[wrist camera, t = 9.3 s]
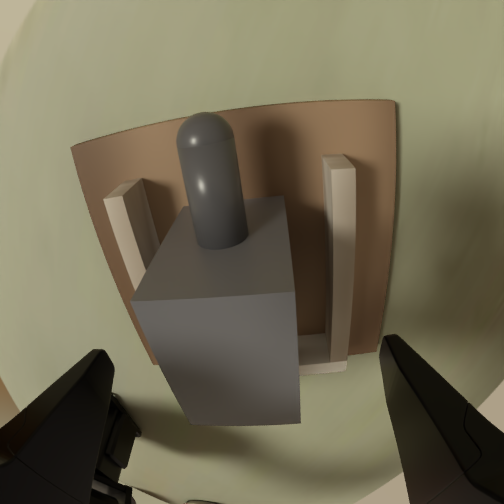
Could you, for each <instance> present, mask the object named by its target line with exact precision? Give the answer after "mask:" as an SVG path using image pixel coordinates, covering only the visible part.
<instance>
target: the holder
mask: <svg viewBox="0 0 504 504" xmlns="http://www.w3.org/2000/svg"><path fill="white" fill-rule="evenodd" d="M211 113H215V114H218V115H220V116H221V117H223V118H224V119H225V120H227V122H228V123H229V124H230V126H231V128H232V130H233V133H234V138H235V145H236V151H237V158H238V165H239V172H240V178H241V185H242V192H243V199H252V198H262V197H272V196H283V195H284V201H285V209H286V217H287V225H288V233H289V242H290V250H291V259H292V268H293V278H294V287H295V300H296V318H297V337H298V358H299V376H302V375H313V374H323V373H332V372H341V371H346V364H347V355H355V354H363V353H370V352H376V351H377V345H378V340H379V335H380V329H381V323H382V317H383V311H384V304H385V298H386V290H387V283H388V275H389V266H390V257H391V247H392V236H393V223H394V207H395V185H396V117H395V101H393V100H383V99H357V100H325V101H307V102H293V103H282V104H271V105H262V106H253V107H245V108H238V109H231V110H224V111H217V112H211ZM189 117H190V116H188V117H183V118H178V119H173V120H168V121H163V122H159V123H154V124H150V125H145V126H141V127H137V128H133V129H129V130H125V131H121V132H117V133H113V134H110V135H106V136H103V137H99V138H96V139H92V140H89V141H86V142H82V143H79V144H76V145H74V146H72V147H71V151H72V155H73V159H74V163H75V166H76V170H77V173H78V177H79V180H80V184H81V187H82V190H83V194H84V197H85V200H86V203H87V206H88V210H89V213H90V216H91V219H92V222H93V225H94V227H95V230H96V233H97V236H98V239H99V242H100V244H101V247H102V250H103V252H104V255H105V258H106V260H107V263H108V266H109V268H110V271H111V273H112V276H113V278H114V281H115V283H116V285H117V288H118V290H119V293H120V295H121V297H122V300H123V302H124V304H125V306H126V309H127V311H128V313H129V315H130V318H131V320H132V322H133V324H134V326H135V329H136V331H137V333H138V335H139V337H140V339H141V341H142V343H143V345H144V347H145V349H146V351H147V353H148V355H149V357H150V359H151V361H152V363H153V365H159V364H158V362H157V360H156V358H155V356H154V354H153V352H152V350H151V348H150V346H149V343H148V341H147V339H146V337H145V335H144V333H143V330H142V328H141V326H140V324H139V321H138V319H137V317H136V315H135V312H134V310H133V308H132V305H131V303H130V300H131V298H132V297H133V295H134V293H135V291H136V289H137V287H138V285H139V283H140V281H141V280H142V278H143V276H144V274H145V272H146V270H147V269H148V267H149V265H150V263H151V261H152V260H153V258H154V256H155V254H156V252H157V251H158V249H159V247H160V245H161V244H162V242H163V240H164V238H165V237H166V235H167V233H168V231H169V230H170V228H171V226H172V225H173V223H174V221H175V220H176V218H177V216H178V214H179V213H180V211H181V209H182V208H183V206H189V204H188V199H187V195H186V190H185V185H184V180H183V176H182V171H181V166H180V161H179V156H178V151H177V144H176V138H177V133H178V130H179V128H180V126H181V125H182V123H183V122H184V121H185V120H186V119H188V118H189Z"/></svg>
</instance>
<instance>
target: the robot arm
mask: <svg viewBox="0 0 504 504" xmlns="http://www.w3.org/2000/svg"><path fill="white" fill-rule="evenodd" d="M379 359H380V366H381V371H382V378H383V384H384V390H385V397H386V403H387V407H388V411H389V415H390V419H391V422H392V426H393V430H394V434H395V438H396V442H397V446H398V450H399V455H400V459H401V463H402V468H403V472H404V477H405V481H406V487H407V492H408V497H409V501H410V504H504V433H503V432H502V431H500V430H499V429H498V428H497V427H495V426H494V425H493V424H492V423H491V422H489V421H488V420H487V419H486V418H485V417H484V416H483V415H482V414H481V413H479V412H478V411H477V410H476V409H475V408H474V407H473V406H472V405H471V404H470V403H468V401H467V400H466V399H465V398H464V397H463V396H462V395H461V394H460V393H459V392H458V391H457V390H456V389H455V388H454V387H452V386H451V385H450V384H449V383H448V382H447V381H446V380H445V379H444V378H443V377H442V376H441V375H440V374H439V373H438V372H437V371H436V370H435V369H434V368H432V367H431V366H430V365H429V364H428V363H427V362H426V361H425V360H424V359H423V358H422V357H421V356H420V355H419V354H418V353H416V352H415V351H414V350H413V349H412V348H411V347H410V346H409V345H408V344H407V343H406V342H405V341H404V340H402V339H401V338H400V337H399V336H398V335H396V334H392V335H385V336H384V337H383V339H382V344H381V349H380V354H379ZM114 372H115V368H114V365H113V363H112V361H111V359H110V358H109V356H108V354H107V353H106V351H105V350H103V349H93V350H92V351H90V352H89V353H88V354H87V355H86V356H85V357H83V358H82V359H81V360H80V361H79V362H77V363H76V364H75V365H74V366H73V367H72V368H70V369H69V370H68V371H67V372H66V373H65V374H63V375H62V376H61V377H60V378H59V379H58V380H57V381H55V382H54V383H53V384H52V385H51V386H50V387H48V388H47V389H46V390H45V391H44V392H43V393H42V394H40V395H39V396H38V397H37V398H36V399H35V400H34V401H32V402H31V403H30V404H29V405H28V406H27V408H24V409H23V410H22V411H21V412H20V413H19V414H18V415H17V416H15V417H14V418H13V419H12V420H10V421H9V422H8V423H7V424H5V425H4V426H3V427H1V428H0V504H131V500H132V487H130V486H127V485H122V484H120V483H118V480H119V476H120V473H121V469H122V468H123V469H125V468H126V467H127V465H128V461H129V458H130V454H131V450H132V447H133V443H134V440H135V437H140V436H141V433H142V432H141V431H140V430H139V428H138V427H137V426H136V425H135V423H134V422H133V421H132V420H131V418H130V417H129V416H128V414H127V413H126V412H125V411H124V409H123V408H122V407H121V405H120V404H119V403H118V401H117V400H116V398H115V397H114V396H113V395H111V391H112V384H113V378H114Z"/></svg>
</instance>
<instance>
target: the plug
mask: <svg viewBox="0 0 504 504" xmlns="http://www.w3.org/2000/svg"><path fill="white" fill-rule="evenodd" d="M176 144H177V151H178V156H179V161H180V166H181V171H182V176H183V180H184V185H185V190H186V195H187V199H188V204H189V206H183V208H182V209H181V211H180V213H179V214H178V216H177V218H176V220H175V221H174V223H173V225H172V226H171V228H170V230H169V231H168V233H167V235H166V237H165V238H164V240H163V242H162V244H161V245H160V247H159V249H158V251H157V252H156V254H155V256H154V258H153V260H152V261H151V263H150V265H149V267H148V269H147V270H146V272H145V274H144V276H143V278H142V280H141V281H140V283H139V285H138V287H137V289H136V291H135V293H134V295H133V297H132V298H131V300H130V303H131V305H132V308H133V310H134V312H135V315H136V317H137V319H138V321H139V324H140V326H141V328H142V330H143V333H144V335H145V337H146V339H147V341H148V343H149V346H150V348H151V350H152V352H153V354H154V356H155V358H156V360H157V362H158V364H159V366H160V368H161V370H162V372H163V374H164V376H165V378H166V380H167V382H168V384H169V386H170V388H171V390H172V392H173V393H174V395H175V397H176V399H177V401H178V403H179V405H180V406H181V408H182V410H183V412H184V414H185V415H186V417H187V419H188V421H189V422H190V424H191V425H211V426H258V425H282V424H298V423H301V417H300V383H299V358H298V337H297V318H296V300H295V287H294V278H293V268H292V259H291V250H290V242H289V233H288V225H287V217H286V209H285V201H284V195H283V196H272V197H262V198H252V199H243V192H242V185H241V178H240V172H239V165H238V158H237V151H236V145H235V138H234V133H233V130H232V128H231V126H230V124H229V123H228V122H227V120H225V119H224V118H223V117H221V116H220V115H218V114H215V113H211V112H201V113H197V114H194V115H192V116H190V117H189V118H188V119H186V120H185V121H184V122H183V123H182V125H181V126H180V128H179V130H178V133H177V138H176Z"/></svg>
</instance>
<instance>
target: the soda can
mask: <svg viewBox="0 0 504 504" xmlns="http://www.w3.org/2000/svg"><path fill="white" fill-rule="evenodd" d="M184 504H215V503H211V502H205V501H189V502H187V503H184Z"/></svg>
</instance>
